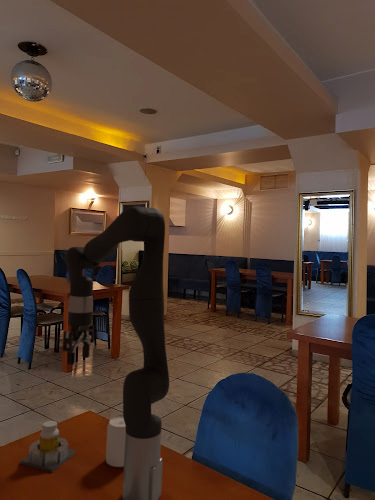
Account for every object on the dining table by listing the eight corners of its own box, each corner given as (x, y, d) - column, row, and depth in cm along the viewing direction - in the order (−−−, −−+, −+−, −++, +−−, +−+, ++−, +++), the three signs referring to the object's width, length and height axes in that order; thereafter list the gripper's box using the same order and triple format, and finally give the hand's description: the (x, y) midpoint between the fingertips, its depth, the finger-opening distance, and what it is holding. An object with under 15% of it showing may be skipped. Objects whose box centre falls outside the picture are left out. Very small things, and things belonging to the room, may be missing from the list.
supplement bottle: (40, 451, 121) (41, 420, 120) (59, 450, 122) (60, 419, 122) (38, 461, 115) (39, 428, 115) (57, 459, 117) (58, 427, 116)
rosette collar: (75, 453, 122) (75, 440, 122) (52, 472, 112) (52, 458, 112) (45, 446, 126) (45, 434, 126) (20, 464, 115) (21, 450, 115)
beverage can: (100, 463, 117) (101, 423, 117) (117, 451, 124) (118, 413, 124) (122, 472, 114) (124, 430, 113) (138, 459, 121) (140, 419, 121)
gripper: (78, 314, 118) (76, 368, 118) (102, 307, 132) (100, 356, 132) (56, 311, 120) (54, 365, 120) (82, 306, 134) (80, 353, 134)
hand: (78, 360), depth 126 cm, fingers open, 8 cm apart
